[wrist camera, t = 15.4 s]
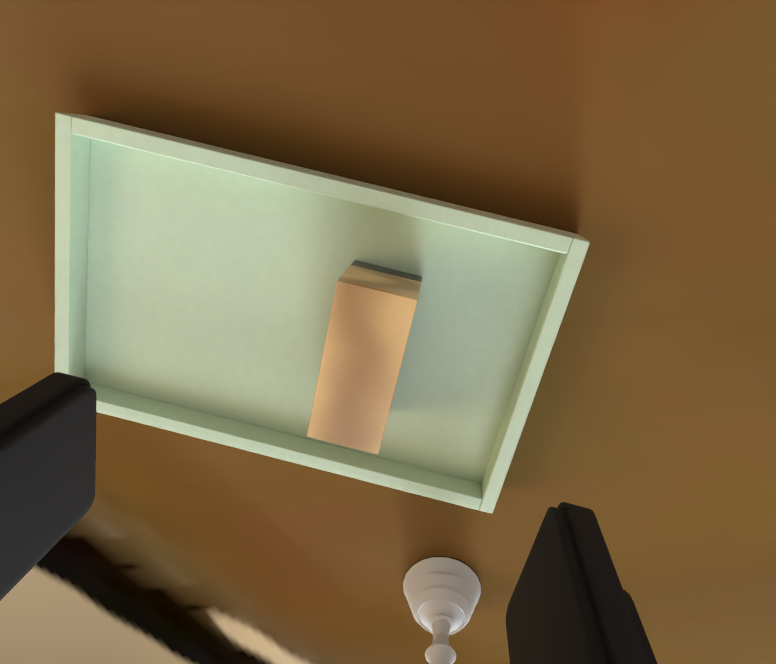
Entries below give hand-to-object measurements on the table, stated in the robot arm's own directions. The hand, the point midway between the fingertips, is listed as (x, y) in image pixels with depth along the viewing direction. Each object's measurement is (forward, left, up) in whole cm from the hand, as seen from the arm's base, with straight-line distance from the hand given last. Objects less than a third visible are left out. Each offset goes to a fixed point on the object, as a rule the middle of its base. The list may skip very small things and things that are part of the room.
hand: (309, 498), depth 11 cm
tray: (+5, +3, -19) cm, 19 cm away
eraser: (+1, +3, -18) cm, 18 cm away
